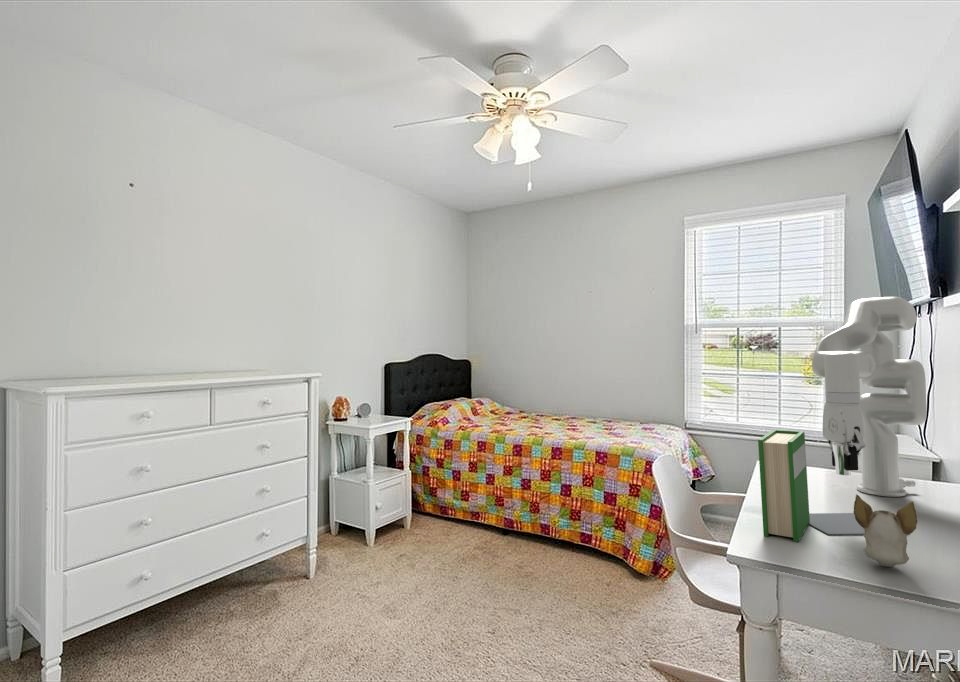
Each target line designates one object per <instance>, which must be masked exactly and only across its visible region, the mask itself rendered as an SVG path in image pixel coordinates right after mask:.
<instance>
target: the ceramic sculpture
mask: <svg viewBox="0 0 960 682" xmlns="http://www.w3.org/2000/svg"><path fill="white" fill-rule="evenodd" d="M853 503H854V504H853V512H852V513H854V515H855V519H856V521H857V522H858V524H859V525H860V526H861V527H863V528H864V530H865V534H864V535H863V536H864V538H865V547H864V548H863V552H864V554H865V555H866V557H868V558H869V559H872V560H873V561H875V562H876V563H878V564H879V565H881V566H883V567H889V568H894V567H895V566H897V565H904V564H906V563H908V561H909V560H910V557H909V555H908V553H907V546H908V538H907V537H908V536H910V535H911V534H912V533H914V532H915V530H916V529H917V524H918V516H917V511H916V509H915V504H914V501H910V502H909V503H908V504H907V505H905V506H903V507H901V508H899V509H898V510H897V511H896V513H894V512H891V511H888V510H881V509H879V510H874V511H873V508H872V507H871V505H870V504H869V503H867V502H866V501H865V500H863V499H862V498H861V496H860V495H859V494H856V495H855V501H854V502H853ZM909 534H910V535H909Z"/></svg>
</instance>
